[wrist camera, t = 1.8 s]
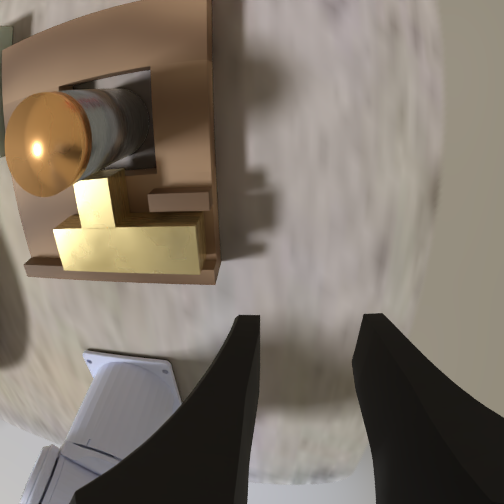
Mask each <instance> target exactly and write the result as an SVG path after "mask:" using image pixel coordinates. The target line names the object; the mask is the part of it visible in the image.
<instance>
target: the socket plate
mask: <svg viewBox="0 0 504 504" xmlns="http://www.w3.org/2000/svg"><path fill="white" fill-rule="evenodd" d="M145 70H151V97H152V115H153V131H154V144H155V156H156V168H150V169H137V170H125V176H126V184H127V192H128V199H129V206H130V212H131V213H138V212H174V211H203V214H204V227H205V239H206V251H207V256H206V259H205V262H204V265H203V268H202V271H201V273H200V275H193V274H150V273H117V272H89V271H65V270H64V268H63V265H62V261H61V258H60V254H59V251H58V247H57V243H56V240H55V236H54V232H53V229H54V228H55V227H57V226H58V225H59V224H61V223H62V222H63V221H64V220H66V219H67V218H68V217H70V216H71V215H79V212H78V207H77V202H76V196H75V191H74V185H72V186H70V187H68V188H66V189H65V190H63V191H61V192H60V193H58V194H56V195H54V196H50V197H38V196H34V195H32V194H30V193H28V192H27V191H25V190H24V189H23V188H22V187H20V185H19V184H18V183H17V182H16V181H15V179H14V178H13V176H12V174H11V176H12V181H13V186H14V191H15V196H16V201H17V205H18V210H19V214H20V218H21V222H22V226H23V230H24V233H25V237H26V240H27V244H28V247H29V251H30V254H31V257H32V258H31V259H29V260H28V261H27V262H26V263H25V264H24V267H25V270H26V273H27V276H28V277H41V278H57V279H73V280H92V281H112V282H136V283H163V284H199V285H215V284H216V280H217V276H218V272H219V268H220V264H221V252H220V236H219V220H218V202H217V182H216V161H215V137H214V108H213V71H212V0H141V1H136V2H132V3H128V4H124V5H120V6H116V7H112V8H108V9H105V10H101V11H98V12H95V13H91V14H88V15H85V16H82V17H79V18H76V19H73V20H70V21H68V22H65V23H62V24H60V25H57V26H54V27H52V28H49V29H47V30H45V31H42V32H40V33H37V34H35V35H33V36H31V37H28V38H26V39H24V40H22V41H20V42H18V43H16V44H14V45H12V46H10V47H8V48H6V49H4V50H2V97H3V113H4V125H5V133H6V128H7V125H8V122H9V119H10V117H11V115H12V113H13V111H14V110H15V109H16V107H17V106H18V105H19V104H20V103H21V102H22V101H23V100H24V99H25V98H27V97H29V96H31V95H33V94H36V93H42V92H52V91H65V90H73V86H74V85H78V84H82V83H86V82H90V81H94V80H98V79H103V78H107V77H112V76H117V75H122V74H127V73H133V72H139V71H145Z"/></svg>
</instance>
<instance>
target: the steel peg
mask: <svg viewBox="0 0 504 504" xmlns="http://www.w3.org/2000/svg"><path fill="white" fill-rule="evenodd" d="M148 129H149V114H148V110H147V108H146V105H145V104H144V102H143V100H142V99H141V98H140V97H139V96H138V95H137V94H135V93H134V92H132V91H130V90H127V89H82V90H65V91H52V92H42V93H36V94H33V95H31V96H29V97H27V98H25V99H24V100H23V101H22V102H21V103H20V104H19V105H18V106H17V107H16V109H15V110H14V111H13V113H12V115H11V117H10V119H9V122H8V125H7V128H6V133H5V156H6V161H7V164H8V167H9V170H10V172H11V174H12V176H13V178H14V179H15V181H16V182H17V183H18V184H19V185H20V187H22V188H23V189H24V190H25V191H27V192H28V193H30V194H32V195H34V196H38V197H50V196H54V195H56V194H58V193H60V192H61V191H63V190H65V189H66V188H68V187H70V186H72V185H73V184H75V183H77V182H79V181H81V180H82V179H84V178H86V177H88V176H90V175H91V174H93V173H95V172H97V171H99V170H101V169H103V168H105V167H107V166H108V165H110V164H112V163H114V162H116V161H118V160H120V159H122V158H124V157H126V156H128V155H130V154H132V153H134V152H135V151H136V150H137V149H138V148H139V147H140V146H141V145H142V144H143V142H144V140H145V138H146V136H147V133H148Z"/></svg>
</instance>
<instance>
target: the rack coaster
mask: <svg viewBox="0 0 504 504" xmlns="http://www.w3.org/2000/svg"><path fill="white" fill-rule="evenodd" d="M12 36H13V27H8V26H0V158H1V157H4V156H5V125H4V113H3V97H2V50H4V49H6V48H8V47H10V46H12Z"/></svg>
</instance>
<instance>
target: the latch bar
mask: <svg viewBox="0 0 504 504" xmlns="http://www.w3.org/2000/svg"><path fill="white" fill-rule="evenodd" d="M73 185H74V191H75V196H76V202H77V207H78V212H79V215H71V216H70V217H68V218H67V219H66V220H64V221H63V222H62V223H61V224H59V225H58V226H57V227H55V228H54V229H53V232H54V236H55V240H56V243H57V247H58V251H59V254H60V258H61V261H62V265H63V268H64V270H65V271H89V272H117V273H150V274H193V275H200V273H201V271H202V268H203V265H204V262H205V259H206V256H207V251H206V239H205V227H204V214H203V211H174V212H138V213H131V212H130V206H129V199H128V192H127V184H126V176H125V168H119V169H109V170H99V171H97V172H95V173H93V174H91V175H90V176H88V177H86V178H84V179H82V180H81V181H79V182H77V183H75V184H73Z"/></svg>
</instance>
